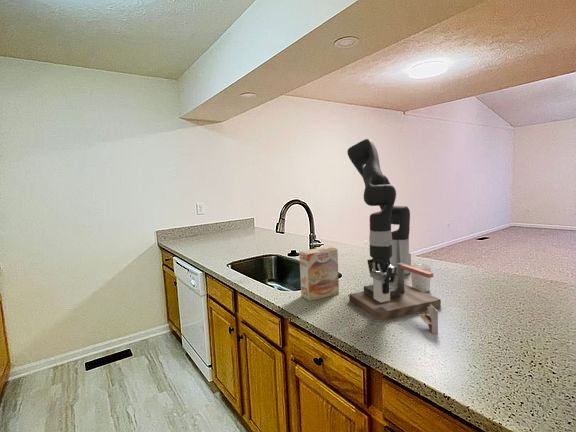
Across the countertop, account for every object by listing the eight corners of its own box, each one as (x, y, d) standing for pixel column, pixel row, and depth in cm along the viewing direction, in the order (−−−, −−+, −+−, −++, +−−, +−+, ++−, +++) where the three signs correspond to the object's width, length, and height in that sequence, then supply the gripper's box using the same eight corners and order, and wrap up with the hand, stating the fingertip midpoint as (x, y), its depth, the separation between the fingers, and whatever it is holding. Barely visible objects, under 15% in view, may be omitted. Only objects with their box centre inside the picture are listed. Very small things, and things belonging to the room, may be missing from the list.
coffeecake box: (309, 301, 131) (307, 254, 129) (300, 296, 138) (298, 250, 136) (339, 293, 138) (338, 248, 136) (330, 289, 145) (328, 245, 142)
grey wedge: (426, 335, 100) (426, 311, 99) (418, 324, 107) (418, 303, 106) (438, 334, 100) (438, 311, 99) (429, 324, 107) (429, 302, 106)
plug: (383, 295, 118) (383, 270, 117) (393, 300, 113) (392, 274, 112) (370, 298, 116) (370, 272, 115) (379, 303, 111) (379, 276, 110)
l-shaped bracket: (396, 290, 129) (395, 263, 128) (401, 289, 130) (400, 262, 129) (428, 304, 113) (428, 274, 112) (434, 303, 114) (434, 273, 113)
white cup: (431, 287, 140) (431, 264, 139) (430, 293, 133) (430, 269, 132) (411, 285, 143) (411, 263, 142) (410, 291, 136) (409, 268, 135)
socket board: (404, 290, 138) (403, 276, 137) (440, 307, 119) (440, 291, 118) (349, 301, 129) (348, 286, 128) (379, 321, 110) (379, 304, 110)
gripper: (360, 241, 118) (361, 287, 120) (384, 248, 105) (385, 299, 107) (377, 238, 120) (378, 284, 122) (403, 245, 107) (404, 296, 109)
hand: (381, 291), depth 114 cm, fingers closed on plug, 4 cm apart
